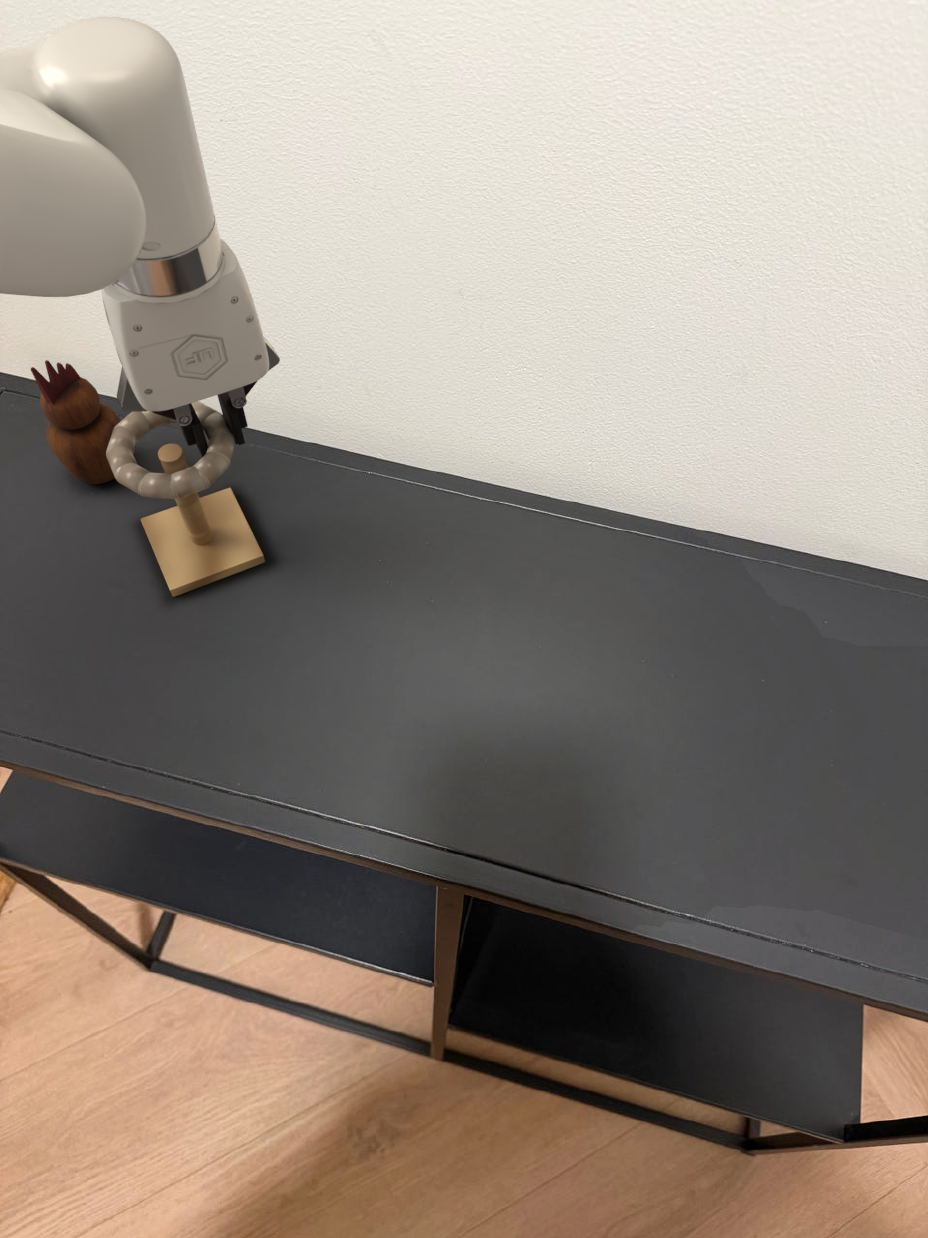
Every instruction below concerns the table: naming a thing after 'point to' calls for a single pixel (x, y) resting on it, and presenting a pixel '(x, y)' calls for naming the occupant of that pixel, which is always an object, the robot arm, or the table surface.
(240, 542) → the post
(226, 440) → the ring
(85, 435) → the wooden figurine
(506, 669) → the table surface
